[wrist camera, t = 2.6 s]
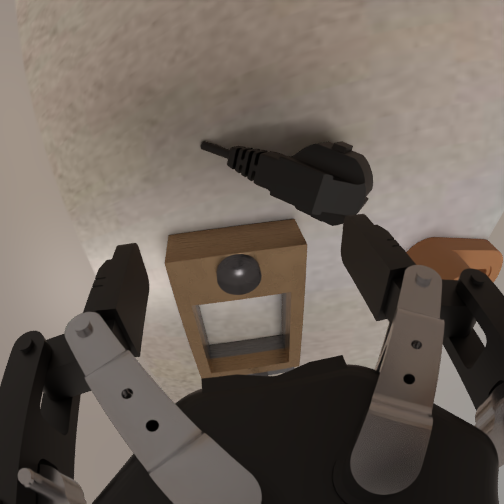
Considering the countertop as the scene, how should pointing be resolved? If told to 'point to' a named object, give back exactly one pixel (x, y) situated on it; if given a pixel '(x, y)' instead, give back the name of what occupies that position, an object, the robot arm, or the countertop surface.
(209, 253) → the brown rectangular frame
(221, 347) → the lower end link
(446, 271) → the brown rounded piece
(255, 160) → the power plug
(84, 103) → the countertop surface
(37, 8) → the countertop surface
